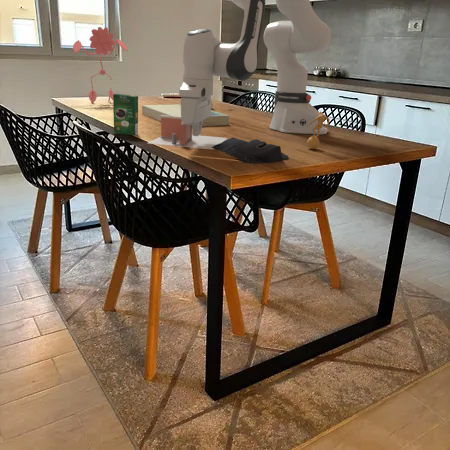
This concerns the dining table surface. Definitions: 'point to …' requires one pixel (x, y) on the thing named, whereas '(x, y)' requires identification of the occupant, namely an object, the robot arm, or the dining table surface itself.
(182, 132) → the fence panel
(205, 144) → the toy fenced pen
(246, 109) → the dining table surface
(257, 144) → the dark slate chunk
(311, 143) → the figurine
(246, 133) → the dining table surface
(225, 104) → the dining table surface
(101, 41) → the figurine
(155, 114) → the puzzle box
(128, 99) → the coffee box
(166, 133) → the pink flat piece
